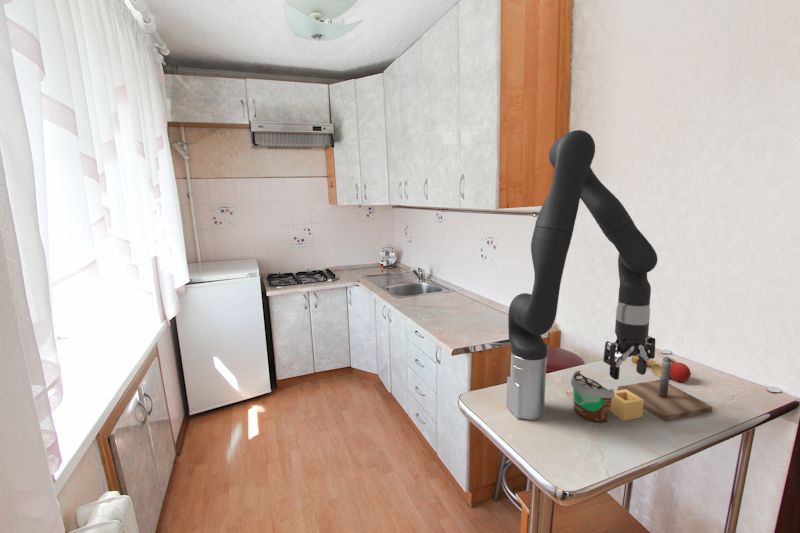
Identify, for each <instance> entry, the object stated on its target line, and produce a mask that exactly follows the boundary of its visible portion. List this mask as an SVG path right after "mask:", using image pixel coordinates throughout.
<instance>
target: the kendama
mask: <svg viewBox="0 0 800 533" xmlns="http://www.w3.org/2000/svg"><path fill="white" fill-rule="evenodd" d="M669 358H670V359H671V368H670V376H669V378H670V379H672V380H673V381H675V382H678V383H679V382H680V383H682V382H683V383H684V382H687V381H688V380H689V379H690V377H691V374H692V372H691V369H690V368H689V366H687V365H686V364H685V363H682V362H679V361H676V360H675V359H674V358H671V357H669ZM637 359H639V358H638V357H637V356H631V361H632V363H635V364H637ZM647 366H648V367H651V368H650V369H651V371H652V373H653V374H654V375H655V376H656V377H658V378H660V379H661V370H662V363H661V362H658V361H656V360H653V359H649V361H648V362H647Z"/></svg>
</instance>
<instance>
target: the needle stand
mask: <svg viewBox="0 0 800 533" xmlns="http://www.w3.org/2000/svg"><path fill="white" fill-rule="evenodd" d="M670 358H671V357H669V356H664V357H663V358H662V361H661V362H662V363H661V364H662V370H661V378H660V379H655V380H651V381H644V382H638V383H632V384H625V385H620V386H617V390H616V391H618V390H624V389H627V390H628V391H630V392H632V393H633V394H635V395H636V396H638V397H640V398H641V399H643V400H644V405H643V409H645V410H646V411H647V412H649V413H651V414H652V415H654V416H656V417H657V418H659V419H660V420H661V421H664V422H666V421H671V420H676V419H678V420H679V419H681V418H686V417H687V418H688V417H693V416H697V415H702V414H708V413H712V412H713V408H714V407H713V406H712V405H710V404H709V403H706V402H704V401H703V400H702V399H701V400H700V399H699V398H697V397H695V396H693V395H691V394H689V393H688V392H686V391H684V390H681V389H680V388H678V387H676V386H674V385H672V384H671V383H670V368H671V359H670Z"/></svg>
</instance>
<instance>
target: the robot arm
mask: <svg viewBox="0 0 800 533" xmlns="http://www.w3.org/2000/svg"><path fill="white" fill-rule="evenodd" d="M595 154H596V145H595V140H594V138H593V136H592V135H591V134H590V132H589V133H588V132H587V131H586V130H585V131H584V130H581V129H577V130H572V131H569V132H567V133H565V134H564V135H562V136H561V137H560V138H558V139H557V140H556V141H554V142H553V144H552V145H551V147H550V149H549V153H548V159H549V162H550V165H551V166H552V167H553V168H554V169H553V170H554V171H553V176H552V181H551V185H550V188H549V191H548V194H547V196H546V198H545V200H544V202H543V203H542V206H541V209H540V210H539V213H538V214H537V215H538V216H537V218H536V221H535V225H534V228H533V234H532V238H531V243H530V254H531V259H532V260H531V261H532V265H533V272H534V280H533V286H532V292H531V293H527V292H526V293H525V292H524V293H520V294H517V295H516V296H514V298H513V299H512V300H511V302H510V305H509V308H508V313H507V314H508V316H507V320H508V326H507V327H508V340H509V344H510V346H511V347H510V348H511V349H510V350H511V352H510V353H511V354H510V375H509V376H507V377H506V380H507V383H506V409H508V411H509V412H510V413H511V414H512V415H513V416H514V417H515V418H516V419H517V420H519V419H523V420H528V421H529V420H530V421H531V420H539V419H541V418H543V417H544V414H545V403H546V402H545V399H546V398H545V397H546V378H547V364H548V363H547V362H548V359H547V358H548V346H547V344H546V342H545V340H544V339H543V337H542V335H545V334H546V333H548V332H549V331H550V329H551V328H552V327H553V325H554V323H555V320H556V316H557V312H558V304H559V296H560V289H561V283H562V278H563V274H564V270H565V265H566V260H567V256H568V252H569V249H570V245H571V243H572V242H571V241H572V238H573V233H574V229H575V228H574V227H575V223H576V219H577V215H578V210H579V206H580V201H582V202H583V204H584V205H585V207H586V208H587V210H588V211H589V213H590V214H591V216H592V217H593V218H594V220H595V222H596V224H597V225H598V227H599V229H600V230H601V232H602V233H603V234H604V236H605V237H606V238H607V240H608V241H609V242H611V244H613V246H614V247H615V249H616V250H617V252H618V259H617V268H618V270H617V271H618V277H619V278H618V279H619V287H618V300H617V306H616V310H615V311H616V315H615V326H614V334H615V335H616V340H615V342H610V341H609V340H607V341H605V343H604V352H603V362H604V363H605V364H607V365H608V366H609V376H610V378H612V379H613V380H619V379H620V368H621V367H620V365H622V363H623V362H625V361H626V360H627V359H628V358H632V356H637V357H638V358H639V359H637V363H636V373H638V374H639V375H641V376H643V375H646V372H647V368H648V367H647V362H648V361H649V359H651V360H653V359H655V357H656V338H655V337H653V336H649V329H650V316H651V308H650V307H651V306H650V305H651V304H650V303H651V295H652V294H651V292H652V288H651V287H652V286H651V284H650V282H649V280H648V273H649V272H651V271H653V270H654V269H655V268H656V266H657V264H658V255H657V252H656V250H655V248H654V247H653V246H652V244H651V243H650V242H649V240H648V239H647V237H645V235H644V234H643V233H642V231H640V230H639V229H638V227H637V226H636V224H635V222H634V220H633V219H632V217H631V215H630V214H629V212H628V211H627V210H626V208H625V206H624V205H623V203H622V202H621V200H619V198H617V197H616V196H615V195H614V194H613V193H612V192H611V191H610V190H609V189H608V187H606V186H605V185H604V184H603V182H601V180H600V179H599V178H598V177H597V176H596V174H595V173H594V171H593V169H592V168H591V166H592V163H593V160H594V157H595Z"/></svg>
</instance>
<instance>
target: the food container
mask: <svg viewBox="0 0 800 533" xmlns="http://www.w3.org/2000/svg"><path fill="white" fill-rule="evenodd" d="M570 385H571V386H572V389H573V391H572V392H573V393H572V394H573V411H574V414H576V415H577V416H578V417H580V418H581V419H583V420H585V421H587V422H592V423H597V424H603V423H604V424H605V423H608V420H609V414H610V411H609V410H610V405H611V400H612V398H613V397H614V392H613V391H614V388H611V389H608V388H606V387H604V386H602V384H600V383H599V382H598V381H596V380H594V379H591V378H589V377H586V376H584V375H583V374H582V373H581V370H576V371H575V372H574V373H573V375H572V376H571V378H570Z"/></svg>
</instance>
